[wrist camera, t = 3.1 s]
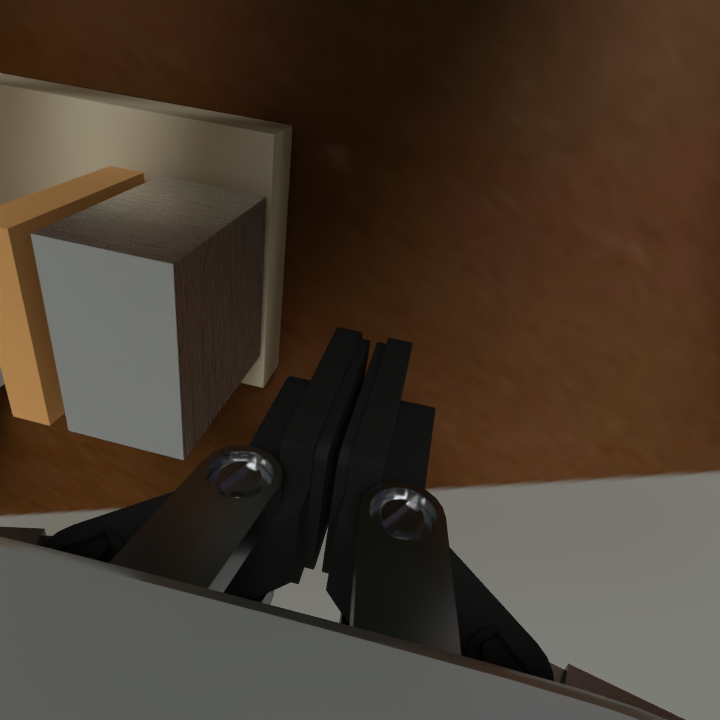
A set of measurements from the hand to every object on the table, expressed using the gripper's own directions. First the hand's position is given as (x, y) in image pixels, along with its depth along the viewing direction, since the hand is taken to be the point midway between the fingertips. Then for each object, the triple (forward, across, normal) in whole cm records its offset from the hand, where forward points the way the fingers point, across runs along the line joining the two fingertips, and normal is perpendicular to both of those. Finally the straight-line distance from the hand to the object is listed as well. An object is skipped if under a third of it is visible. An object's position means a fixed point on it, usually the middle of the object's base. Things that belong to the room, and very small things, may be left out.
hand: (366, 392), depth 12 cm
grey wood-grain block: (+4, +5, 0) cm, 7 cm away
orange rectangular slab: (+4, +8, +1) cm, 9 cm away
